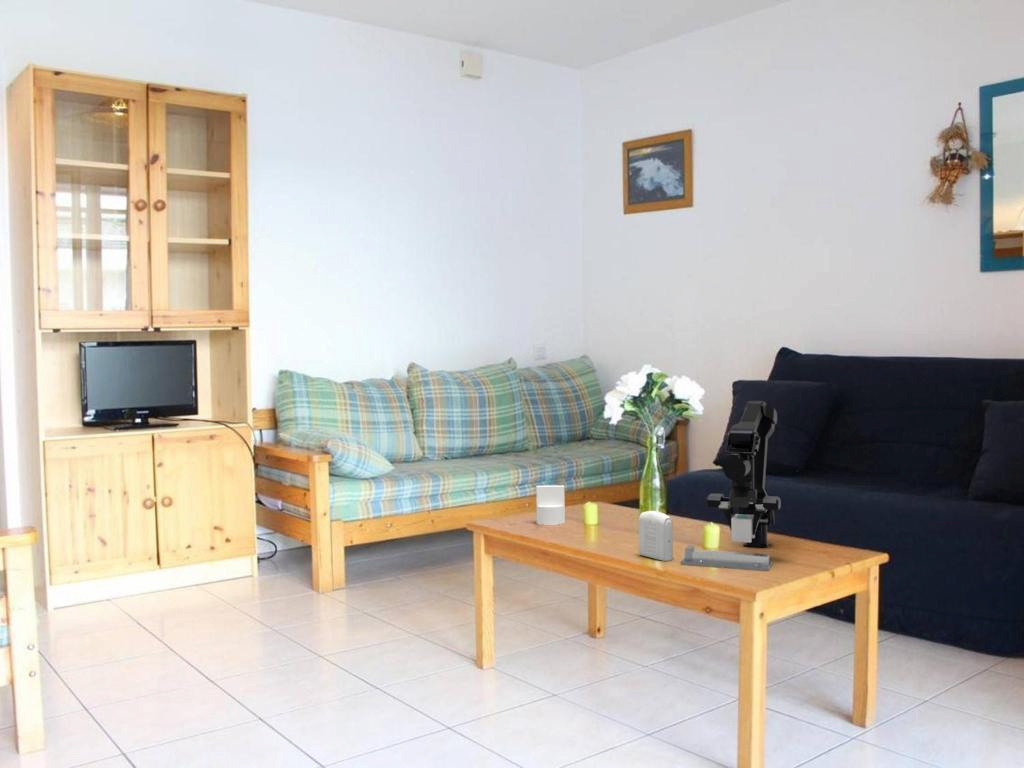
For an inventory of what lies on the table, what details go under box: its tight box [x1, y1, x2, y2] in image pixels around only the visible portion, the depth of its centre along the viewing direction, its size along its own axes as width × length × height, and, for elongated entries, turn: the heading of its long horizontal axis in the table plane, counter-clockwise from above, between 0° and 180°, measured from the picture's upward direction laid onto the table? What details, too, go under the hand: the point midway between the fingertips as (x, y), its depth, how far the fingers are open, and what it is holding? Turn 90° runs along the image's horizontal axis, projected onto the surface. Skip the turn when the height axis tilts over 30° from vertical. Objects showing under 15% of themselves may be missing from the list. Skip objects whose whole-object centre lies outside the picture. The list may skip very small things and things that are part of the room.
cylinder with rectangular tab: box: [535, 484, 566, 525], centre depth 308 cm, size 9×9×12 cm
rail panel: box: [680, 544, 773, 572], centre depth 249 cm, size 8×22×4 cm, turn 68°
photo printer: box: [638, 510, 674, 562], centre depth 258 cm, size 10×4×12 cm, turn 37°
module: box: [730, 513, 755, 543], centre depth 255 cm, size 7×5×7 cm
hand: (743, 534), depth 255 cm, fingers closed on module, 5 cm apart
